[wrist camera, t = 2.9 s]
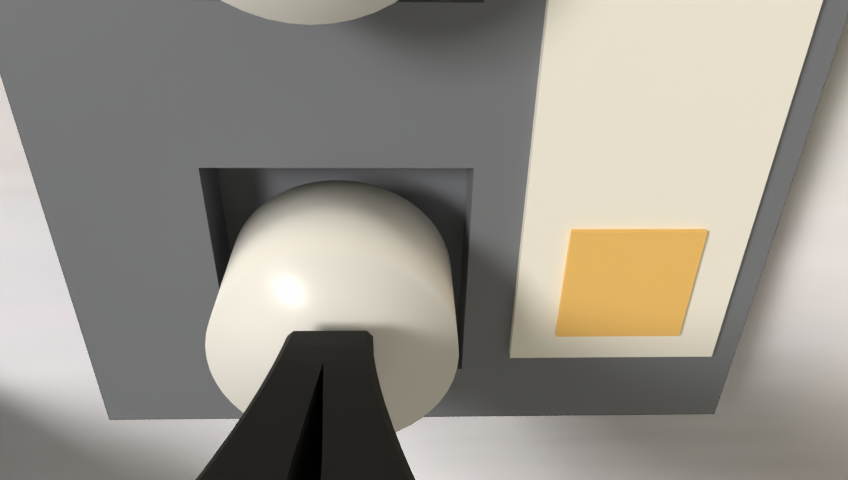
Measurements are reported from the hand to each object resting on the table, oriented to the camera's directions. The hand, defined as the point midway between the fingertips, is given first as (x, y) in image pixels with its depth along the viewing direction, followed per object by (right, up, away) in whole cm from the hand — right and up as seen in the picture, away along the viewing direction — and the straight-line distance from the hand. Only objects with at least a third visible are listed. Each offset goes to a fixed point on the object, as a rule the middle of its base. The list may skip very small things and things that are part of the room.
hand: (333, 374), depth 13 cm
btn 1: (0, +2, +2) cm, 3 cm away
